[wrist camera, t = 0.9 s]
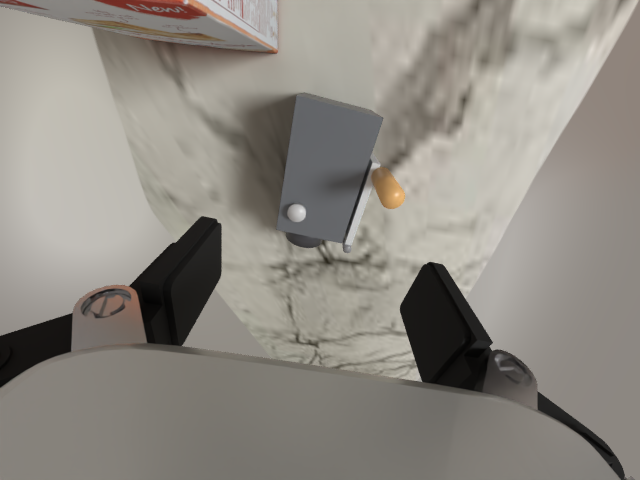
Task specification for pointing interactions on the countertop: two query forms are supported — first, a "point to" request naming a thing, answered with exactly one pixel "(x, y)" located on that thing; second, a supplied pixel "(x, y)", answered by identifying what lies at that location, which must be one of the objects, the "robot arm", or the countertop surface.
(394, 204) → the grey blade tan handle
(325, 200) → the block
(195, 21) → the cracker box
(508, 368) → the robot arm
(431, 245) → the countertop surface
